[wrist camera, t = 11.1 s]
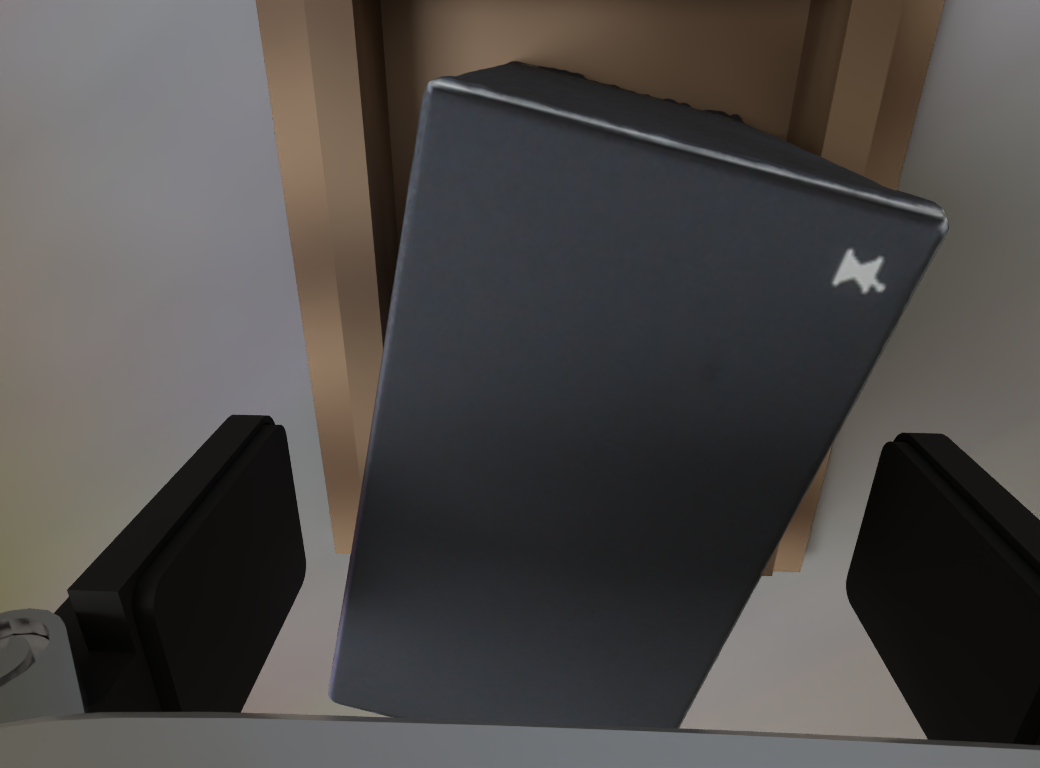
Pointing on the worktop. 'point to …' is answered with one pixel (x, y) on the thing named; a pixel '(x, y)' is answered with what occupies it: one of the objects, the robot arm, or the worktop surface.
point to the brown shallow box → (565, 46)
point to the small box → (601, 395)
